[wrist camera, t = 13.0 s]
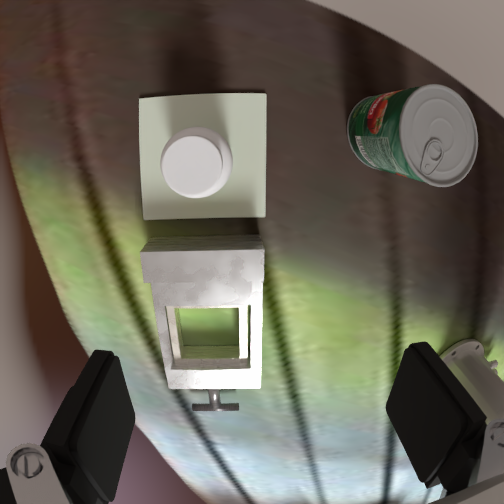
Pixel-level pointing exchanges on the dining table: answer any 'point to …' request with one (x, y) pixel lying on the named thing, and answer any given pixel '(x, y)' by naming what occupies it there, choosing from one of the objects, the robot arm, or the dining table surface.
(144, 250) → the vise
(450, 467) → the robot arm
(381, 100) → the canned tomato
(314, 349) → the dining table surface
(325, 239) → the dining table surface
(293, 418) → the dining table surface
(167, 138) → the pad
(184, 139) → the supplement bottle
